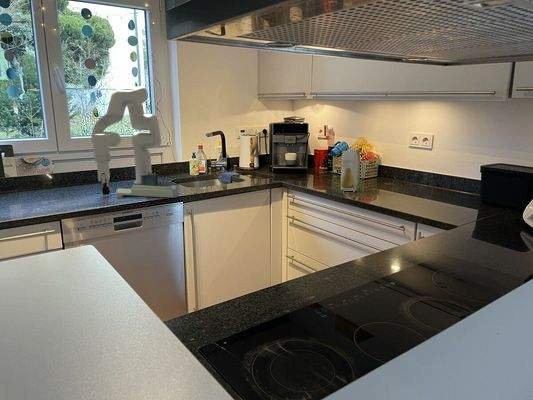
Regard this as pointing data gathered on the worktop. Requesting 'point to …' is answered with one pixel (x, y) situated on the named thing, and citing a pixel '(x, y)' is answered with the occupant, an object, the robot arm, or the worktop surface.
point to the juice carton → (350, 170)
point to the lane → (148, 191)
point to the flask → (149, 179)
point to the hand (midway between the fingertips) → (106, 193)
